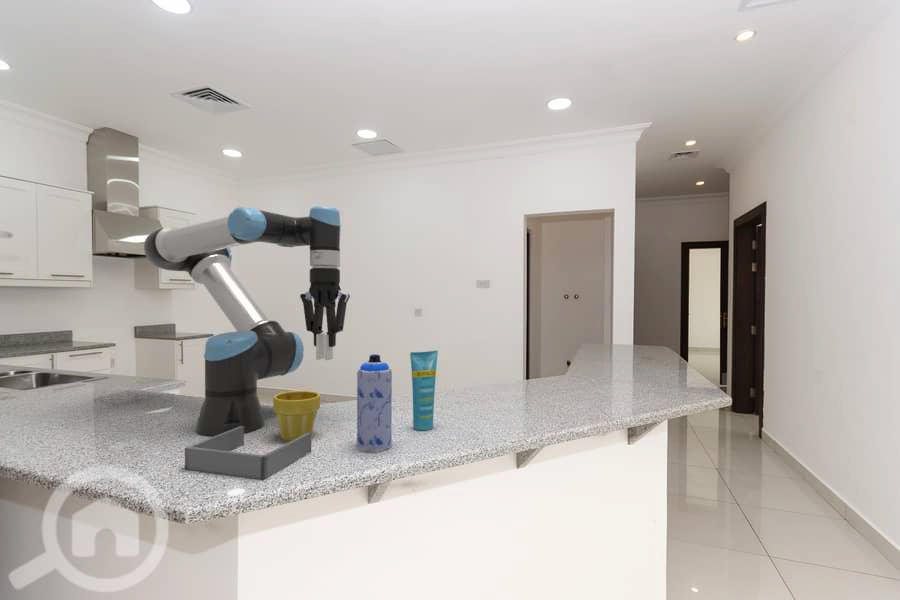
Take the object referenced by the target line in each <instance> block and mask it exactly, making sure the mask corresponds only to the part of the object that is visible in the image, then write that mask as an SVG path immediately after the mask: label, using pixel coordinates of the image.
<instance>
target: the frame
mask: <svg viewBox="0 0 900 600" xmlns="http://www.w3.org/2000/svg"><path fill="white" fill-rule="evenodd" d="M244 445H245V433H244V426H240V427H237V428H234V429H232V430H229V431H227V432H224V433H222V434H219V435H217V436H212V437H211V436H210V437H209V438H207V439H204V440H201V441H199V442H196V443H194V444H192V445H189V446H186V447H184V470H189V471H191V470H192V471H198V472H206V473H213V474H219V475H220V474H221V475H227V476H235V477H242V478H249V477H250V478H251V479H257V478H259V479H258V480H264V481H265V480H266V479H268V478H269V476H270V477H271V476H273V475H274V473H275V474H276V473H278V472H280V471H281V470H283V469H285V468H286V467H288V466H290V465H292V464H293V463H295V462H297V461H298V460H300V459H301V457H302V458H303V457H305V456H306V454H307V453H308V454H310V453H311V452H312V435H311V433H306V434H304V435H302V436H300V437H298V438H296V439H294V440H292V441H288V442H287V443H284V444H283V445H281V446H279V447H277V448H274V449H273V450H271V451H269V452H267V453H265V454H254V453H245V452H240V451H239V452H238V451H232V450H234V449H237V448H239V447H242V446H244ZM309 452H310V453H309ZM308 454H307V455H308ZM304 455H305V456H304ZM299 458H300V459H299ZM297 459H298V460H297ZM296 460H297V461H296ZM294 461H295V462H294ZM292 462H293V463H292ZM289 464H290V465H289ZM284 467H285V468H284ZM272 474H273V475H272ZM250 478H249V479H250Z"/></svg>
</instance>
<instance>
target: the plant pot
mask: <svg viewBox="0 0 900 600" xmlns="http://www.w3.org/2000/svg"><path fill="white" fill-rule="evenodd" d="M272 406H273V411H274V413H275V414H276V417H277V422H278V426H279V433H280V437H281V439H282V440H283V441H288V442H291V441H292V440H294V439H296V438H298V437H300V436H302V435H304V434H306V433H311V436H312V434H313V430H314V425H315V421H316V415H317V412H318V411H319V410H320V408H321V407H320V406H321V394H320V392H317V391H314V390H313V391H312V390H290V391H284V392H280V393H277V394H275V395H274V396H273V405H272Z"/></svg>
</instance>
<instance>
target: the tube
mask: <svg viewBox="0 0 900 600" xmlns="http://www.w3.org/2000/svg"><path fill="white" fill-rule="evenodd" d="M438 351H439V350H428V351H415V352H413V351H411V352H410V355H409V357H410V365H411V384H412V417H413V418H412V422H413V424H412V425H413V429H415V430H417V431H430V430H432V429H433V428H434V412H435V411H434V407H435V391H436V377H437V375H436V374H437V363H438V355H439V352H438Z"/></svg>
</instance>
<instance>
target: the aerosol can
mask: <svg viewBox="0 0 900 600" xmlns="http://www.w3.org/2000/svg"><path fill="white" fill-rule="evenodd" d="M356 376H357V377H356V382H357V383H356V385H357V387H356V397H357V398H356V444H355V449H356V450H357V451H360V452H364V453H381V452H385V451H388V450H390V449H392V447H393V442H392V411H393V410H392V405H393V404H392V402H393V401H392V395H393V394H392V392H393V391H392V389H393V385H392V383H393V379H392V378H393V375H392V368H391V367H390V366H389V364H388V363H386V362H385V361H383V360H381V355H380V354H370V355H369V359H368V360H366V362H363V363H362V364H361V365H360V367H359V368H358V369H357V372H356Z"/></svg>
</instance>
